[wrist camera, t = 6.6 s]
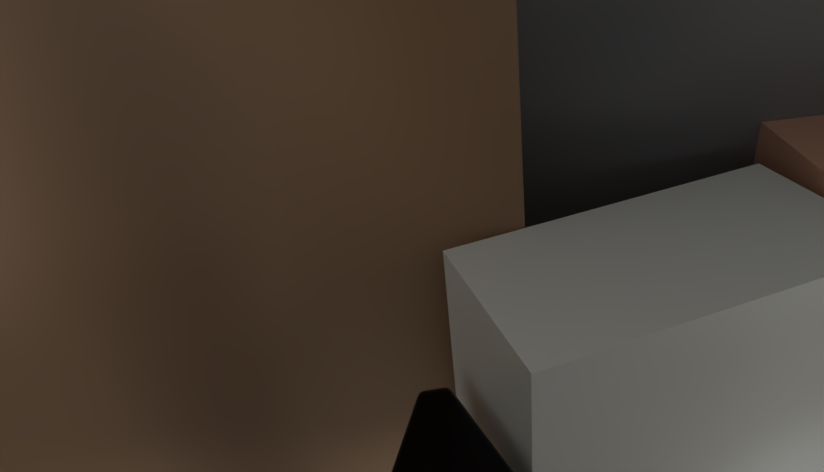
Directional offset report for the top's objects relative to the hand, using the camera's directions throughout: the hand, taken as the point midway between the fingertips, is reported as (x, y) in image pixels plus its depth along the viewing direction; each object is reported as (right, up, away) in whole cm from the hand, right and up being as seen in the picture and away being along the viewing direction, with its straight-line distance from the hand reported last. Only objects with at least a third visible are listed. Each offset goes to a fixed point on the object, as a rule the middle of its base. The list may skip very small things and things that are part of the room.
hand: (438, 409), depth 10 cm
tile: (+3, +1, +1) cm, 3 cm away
